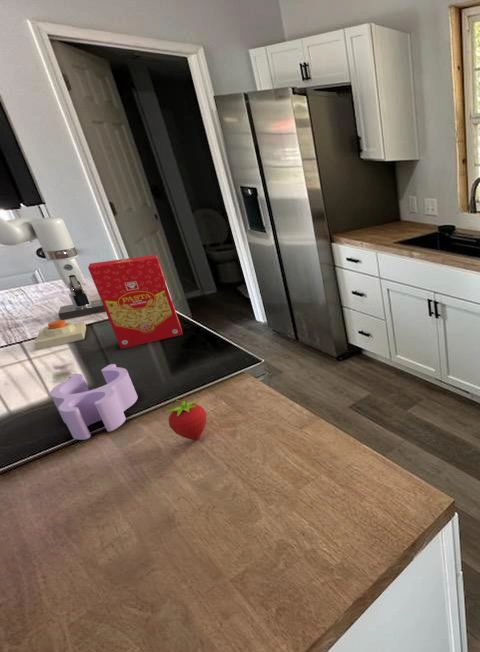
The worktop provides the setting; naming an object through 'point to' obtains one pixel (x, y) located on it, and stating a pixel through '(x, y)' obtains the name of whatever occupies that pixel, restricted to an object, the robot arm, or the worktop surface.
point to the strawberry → (188, 420)
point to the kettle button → (56, 324)
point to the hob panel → (80, 310)
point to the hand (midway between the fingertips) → (82, 303)
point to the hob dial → (75, 302)
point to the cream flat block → (60, 335)
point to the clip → (94, 401)
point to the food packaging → (136, 300)
